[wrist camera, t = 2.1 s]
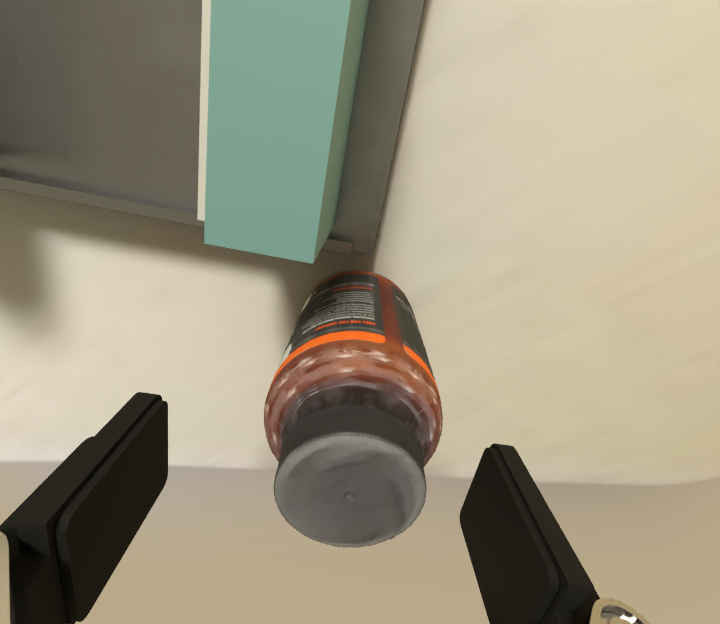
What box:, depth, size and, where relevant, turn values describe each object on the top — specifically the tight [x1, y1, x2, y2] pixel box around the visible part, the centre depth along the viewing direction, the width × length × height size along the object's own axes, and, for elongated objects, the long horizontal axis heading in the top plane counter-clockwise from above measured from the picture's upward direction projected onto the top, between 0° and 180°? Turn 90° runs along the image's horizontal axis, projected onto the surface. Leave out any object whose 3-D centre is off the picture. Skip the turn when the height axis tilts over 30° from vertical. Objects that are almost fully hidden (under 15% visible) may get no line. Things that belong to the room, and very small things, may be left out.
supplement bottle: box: [264, 271, 443, 547], centre depth 15 cm, size 6×6×11 cm
